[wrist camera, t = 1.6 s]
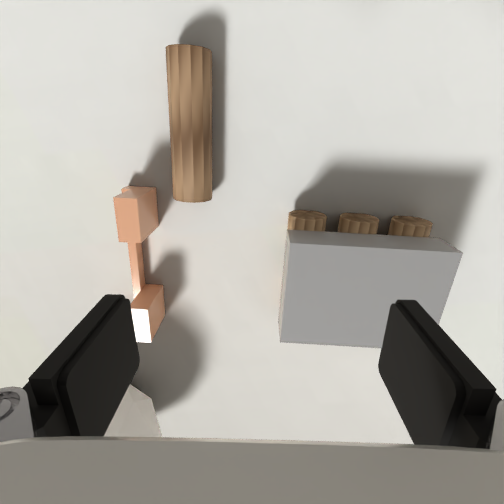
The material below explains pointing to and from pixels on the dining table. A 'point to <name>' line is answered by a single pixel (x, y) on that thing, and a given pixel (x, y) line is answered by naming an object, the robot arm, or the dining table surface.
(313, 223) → the roller
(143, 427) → the white faceted ball
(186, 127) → the roller
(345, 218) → the roller
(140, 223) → the block
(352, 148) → the dining table surface
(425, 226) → the roller
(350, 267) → the grey slab
